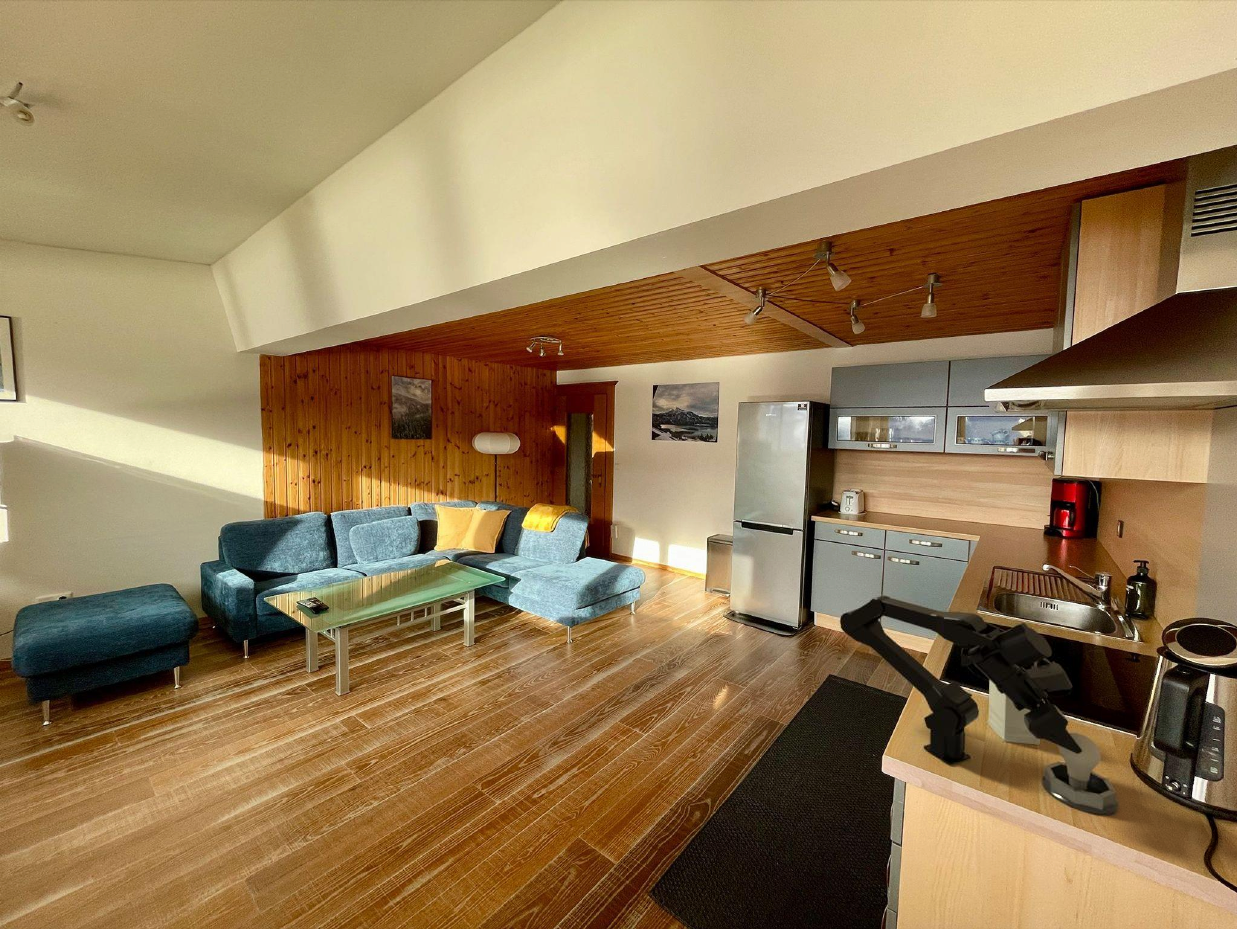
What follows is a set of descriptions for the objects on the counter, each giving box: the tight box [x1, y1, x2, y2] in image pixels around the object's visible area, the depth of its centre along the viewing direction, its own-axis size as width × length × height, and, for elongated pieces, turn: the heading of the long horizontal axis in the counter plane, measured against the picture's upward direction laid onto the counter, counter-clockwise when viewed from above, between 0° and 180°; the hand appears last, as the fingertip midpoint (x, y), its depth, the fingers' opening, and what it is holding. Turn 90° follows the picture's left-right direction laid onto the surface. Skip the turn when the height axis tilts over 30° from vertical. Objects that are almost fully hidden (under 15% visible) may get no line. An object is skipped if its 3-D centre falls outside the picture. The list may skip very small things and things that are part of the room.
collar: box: [1041, 761, 1119, 816], centre depth 99 cm, size 11×11×3 cm
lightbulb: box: [1057, 732, 1102, 791], centre depth 99 cm, size 6×6×11 cm
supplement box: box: [988, 679, 1041, 745], centre depth 119 cm, size 7×7×13 cm
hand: (1071, 738), depth 100 cm, fingers open, 9 cm apart
